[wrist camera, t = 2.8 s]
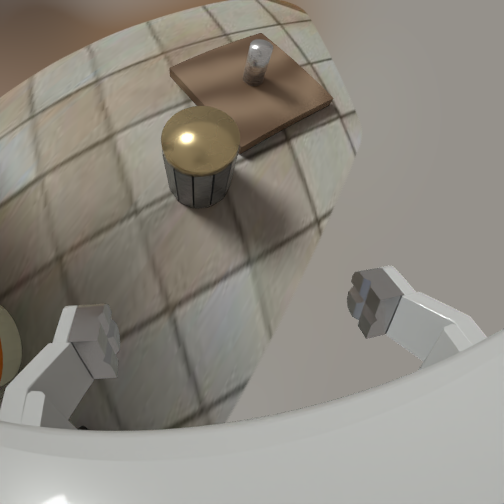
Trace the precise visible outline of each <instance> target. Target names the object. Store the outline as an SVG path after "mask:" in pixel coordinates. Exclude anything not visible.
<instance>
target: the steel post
mask: <svg viewBox="0 0 504 504" xmlns="http://www.w3.org/2000/svg"><path fill="white" fill-rule="evenodd" d="M272 51H273V45H272V44H271V43H270V42H268V41H266V40H262V39H256V40H253V41H252V42H251V43H250V47H249V51H248V56H247V60H246V65H245V69H244V73H243V81H244V82H245V83H246V84H248V85H250V86H258V85H261V84H262V82H263V80H264V76H265V73H266V70H267V67H268V64H269V60H270V57H271V54H272Z"/></svg>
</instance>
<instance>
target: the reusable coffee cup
mask: <svg viewBox="0 0 504 504" xmlns="http://www.w3.org/2000/svg"><path fill="white" fill-rule="evenodd" d="M21 358H22V346H21V339H20V335H19V331H18V329H17V326H16V324H15V322H14V320H13V318H12V316H11V315H10V314H9V313H8V311H7V310H6V309H5V308H3V307H2V306H1V305H0V387H1V386H3V385H4V384H6V383H7V382H9V381H11V380H12V379H13V378H14V377H15V376H16V374H17V372H18V371H19V368H20V365H21Z"/></svg>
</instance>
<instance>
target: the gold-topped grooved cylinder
mask: <svg viewBox="0 0 504 504" xmlns="http://www.w3.org/2000/svg"><path fill="white" fill-rule="evenodd" d="M161 143H162V149H163V159H164V164H165V169H166V173H167V178H168V183H169V188H170V191H171V192H172V193H173V195H174V196H175V197H176V199H177V200H178V201H180V203H182V204H185V205H187V206H189V207H192V208H193V207H194V205H195V208H203V207H210V205H211V206H212V205H214V204H215V203H217V202H218V201H220V200H221V199H223V197H225V195H226V192H227V190H228V188H229V186H230V183H231V179H232V175H233V171H234V167H235V164H236V160H237V156H238V152H239V144H240V132H239V129H238V126H237V124H236V123H235V121H234V120H233V119H232V118H231V117H230V116H229V115H228V114H226V113H225V112H223V111H221V110H219V109H217V108H213V107H208V106H195V107H190V108H187V109H184V110H182V111H180V112H178V113H176V114H175V115H174V116H172V117H171V118H170V119H169V120H168V122H167V123H166V125H165V127H164V129H163V131H162V136H161Z"/></svg>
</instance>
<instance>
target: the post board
mask: <svg viewBox="0 0 504 504" xmlns="http://www.w3.org/2000/svg"><path fill="white" fill-rule="evenodd" d="M256 39H262V40H266V41H268V42H270V43H271V44H272V45H273V51H272V54H271V57H270V60H269V64H268V67H267V70H266V73H265V76H264V80H263V82H262V84H261V85H258V86H250V85H248V84H246V83H245V82H244V81H243V73H244V69H245V65H246V60H247V56H248V51H249V47H250V43H251V42H252V41H253V40H256ZM170 77H171V78H172V79H173V80H174V81H175V82H176V83H177V84H178V85H179V86H180V87H181V88H182V90H183V91H184V92H185V93H186V94H187V95H188V96H189V97H190V98H191V99H192V101H193V102H194V103H195V104H196V105H197V106H208V107H213V108H217V109H219V110H221V111H223V112H225V113H226V114H228V115H229V116H230V117H231V118H232V119H233V120H234V121H235V123H236V124H237V126H238V129H239V132H240V144H239V152H238V153H239V154H241V153H243V152H244V151H246V150H248V149H250V148H251V147H253V146H255V145H256V144H258V143H260V142H262V141H263V140H265V139H267V138H269V137H270V136H272V135H274V134H276V133H278V132H279V131H281V130H283V129H285V128H287V127H288V126H290V125H292V124H294V123H296V122H298V121H300V120H301V119H303V118H305V117H307V116H309V115H311V114H313V113H315V112H317V111H319V110H321V109H323V108H325V107H327V106H329V104H330V103H331V101H332V100H333V97H332V96H331V95H330V94H329V93H328V92H327V91H326V90H325V89H324V88H323V87H322V86H321V85H320V84H319V83H318V82H316V81H315V80H314V79H313V78H312V77H311V76H310V75H309V74H308V73H307V72H306V71H305V70H304V69H303V68H302V67H301V66H299V65H298V64H297V63H296V62H295V61H294V60H293V59H292V58H291V57H289V56H288V55H287V54H286V53H285V52H284V51H283V50H281V49H280V48H279V47H278V46H277V45H275V44H274V43H273V42H272V41H271V40H269V39H268V38H267V37H266V36H265V35H263V34H262V33H259V34H256V35H253V36H250V37H247V38H244V39H241V40H238V41H235V42H232V43H229V44H226V45H223V46H221V47H218V48H215V49H213V50H210V51H208V52H205V53H203V54H200V55H198V56H195V57H193V58H191V59H188V60H186V61H184V62H181V63H179V64H177V65H175V66H173V67H170Z"/></svg>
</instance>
